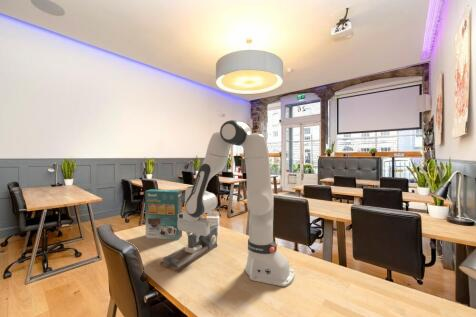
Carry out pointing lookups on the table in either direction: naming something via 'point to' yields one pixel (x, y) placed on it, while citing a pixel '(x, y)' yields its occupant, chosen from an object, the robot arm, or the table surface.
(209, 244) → the track
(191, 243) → the carriage
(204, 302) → the table surface
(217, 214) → the ink cartridge box
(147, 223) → the cake mix box
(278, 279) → the robot arm
